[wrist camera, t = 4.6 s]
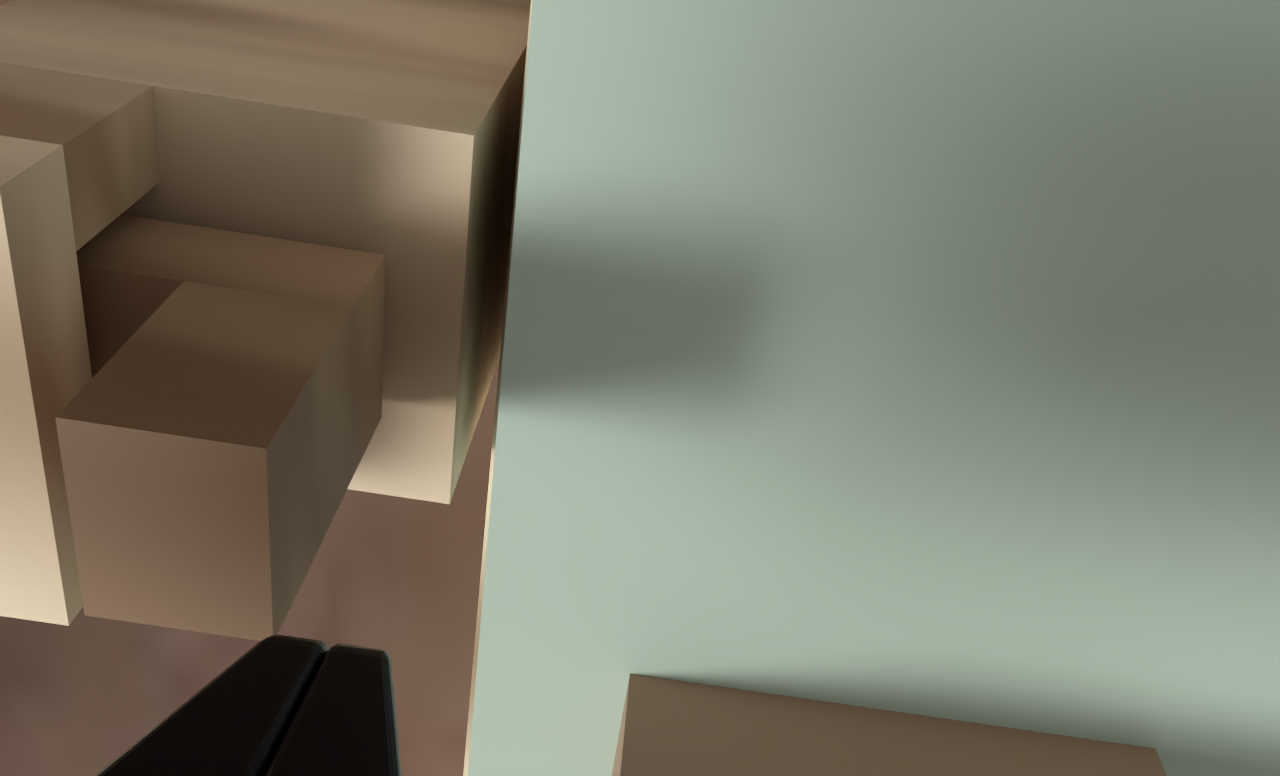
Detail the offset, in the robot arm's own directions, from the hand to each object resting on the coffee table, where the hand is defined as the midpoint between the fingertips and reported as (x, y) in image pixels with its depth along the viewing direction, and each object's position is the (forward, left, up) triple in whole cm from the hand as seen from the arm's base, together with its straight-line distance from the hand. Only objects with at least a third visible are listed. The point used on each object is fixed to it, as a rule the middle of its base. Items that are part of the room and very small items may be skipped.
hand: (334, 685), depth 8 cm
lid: (-8, -2, -6) cm, 11 cm away
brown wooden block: (+3, +4, -5) cm, 7 cm away
